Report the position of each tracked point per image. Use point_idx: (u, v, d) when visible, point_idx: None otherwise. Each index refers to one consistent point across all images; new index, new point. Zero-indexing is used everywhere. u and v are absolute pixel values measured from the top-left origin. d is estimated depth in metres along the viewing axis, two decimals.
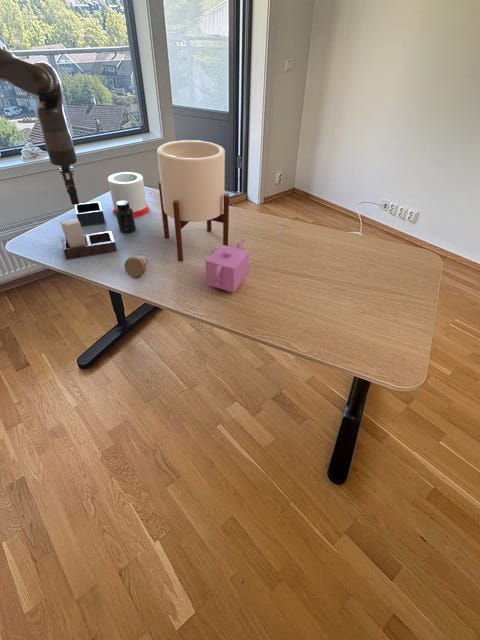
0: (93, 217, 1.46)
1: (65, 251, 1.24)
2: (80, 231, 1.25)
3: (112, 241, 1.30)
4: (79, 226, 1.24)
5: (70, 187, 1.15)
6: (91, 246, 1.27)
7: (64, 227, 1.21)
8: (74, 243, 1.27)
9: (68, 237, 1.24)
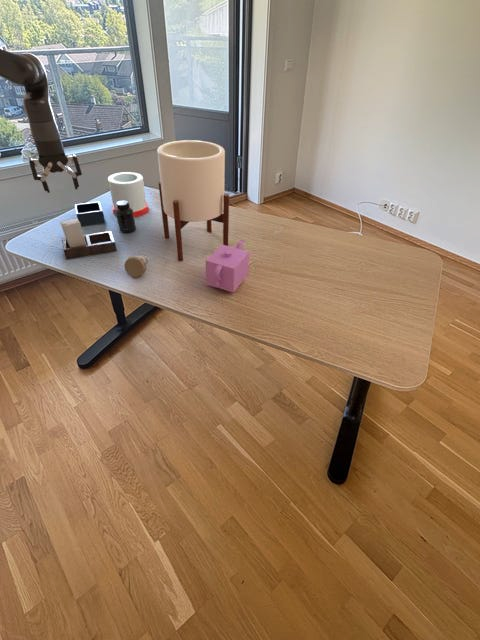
0: (93, 217, 1.46)
1: (65, 251, 1.24)
2: (80, 231, 1.25)
3: (112, 241, 1.30)
4: (79, 226, 1.24)
5: (73, 180, 1.15)
6: (91, 246, 1.27)
7: (64, 227, 1.21)
8: (74, 243, 1.27)
9: (68, 237, 1.24)
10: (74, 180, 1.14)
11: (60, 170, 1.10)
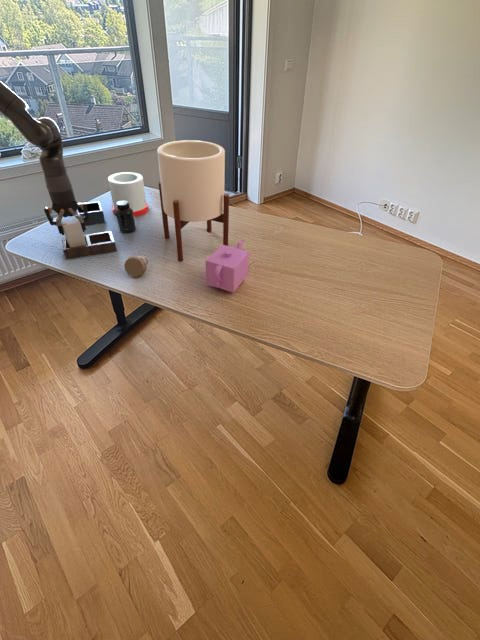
0: (93, 217, 1.46)
1: (65, 251, 1.24)
2: (80, 231, 1.25)
3: (112, 241, 1.30)
4: (79, 226, 1.24)
5: None
6: (91, 246, 1.27)
7: (64, 227, 1.21)
8: (74, 243, 1.27)
9: (68, 237, 1.24)
10: (82, 224, 1.25)
11: (71, 215, 1.21)
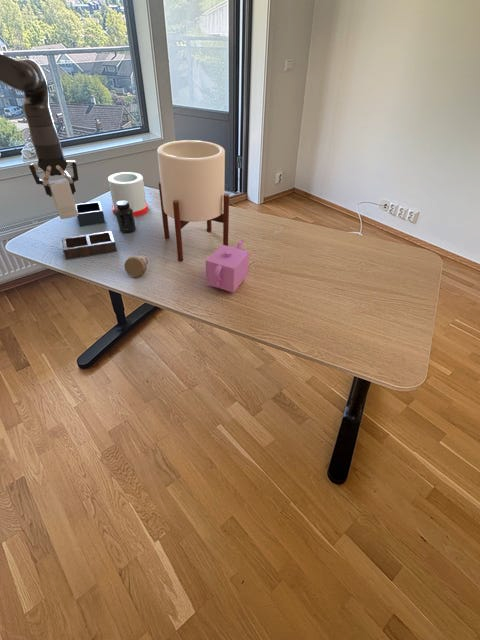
0: (93, 217, 1.46)
1: (65, 251, 1.24)
2: (69, 192, 1.16)
3: (112, 241, 1.30)
4: (68, 187, 1.15)
5: None
6: (91, 246, 1.27)
7: (51, 187, 1.12)
8: (62, 206, 1.17)
9: (56, 198, 1.15)
10: (71, 185, 1.15)
11: (59, 173, 1.12)
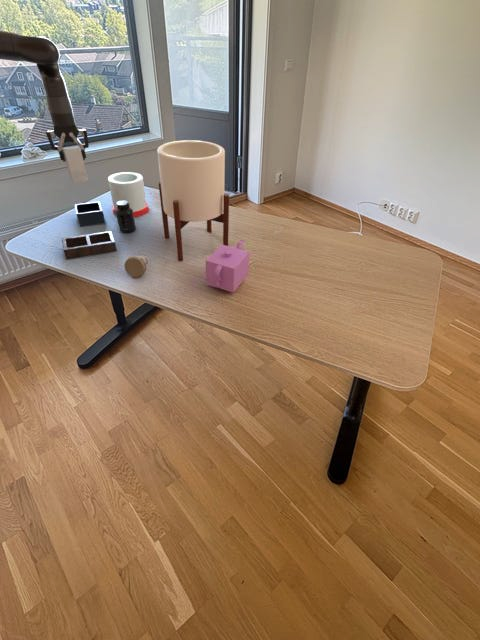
0: (93, 217, 1.46)
1: (65, 251, 1.24)
2: (80, 158, 1.31)
3: (112, 241, 1.30)
4: (79, 153, 1.30)
5: (81, 152, 1.32)
6: (91, 246, 1.27)
7: (65, 152, 1.27)
8: (74, 170, 1.33)
9: (69, 163, 1.30)
10: (82, 151, 1.31)
11: (72, 140, 1.27)
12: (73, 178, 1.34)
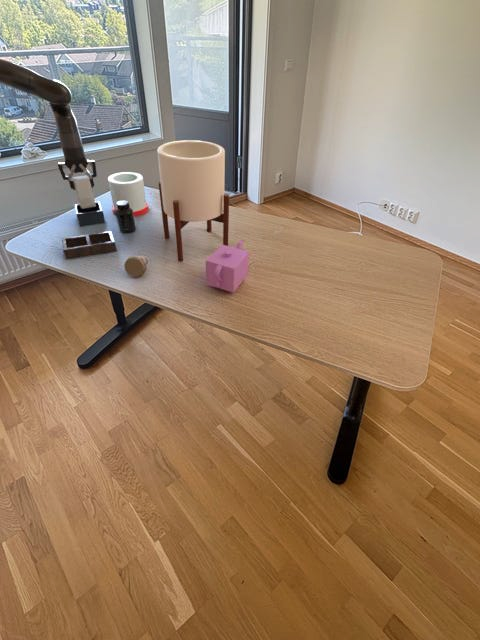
0: (93, 217, 1.46)
1: (65, 251, 1.24)
2: (89, 186, 1.41)
3: (112, 241, 1.30)
4: (88, 182, 1.40)
5: None
6: (91, 246, 1.27)
7: (75, 181, 1.37)
8: (83, 198, 1.42)
9: (78, 191, 1.40)
10: (90, 180, 1.41)
11: (81, 171, 1.37)
12: (82, 204, 1.44)
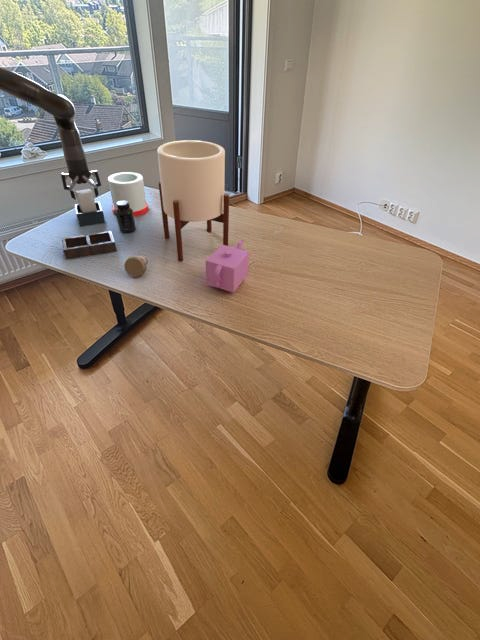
0: (93, 217, 1.46)
1: (65, 251, 1.24)
2: (92, 200, 1.45)
3: (112, 241, 1.30)
4: (91, 195, 1.43)
5: (94, 190, 1.45)
6: (91, 246, 1.27)
7: (79, 195, 1.41)
8: (87, 211, 1.46)
9: (82, 205, 1.44)
10: (95, 190, 1.43)
11: (84, 182, 1.40)
12: None
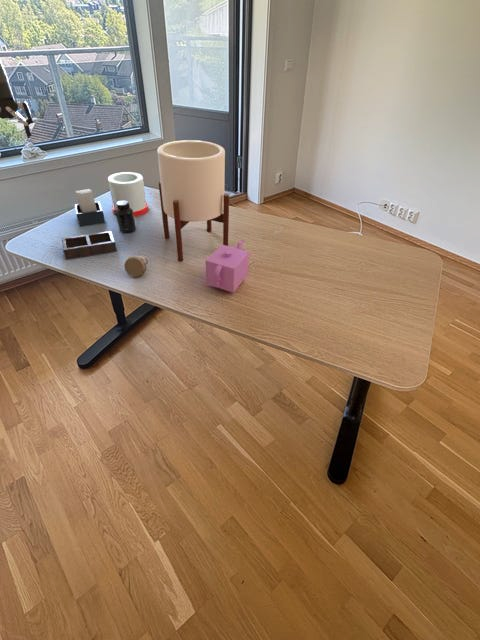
0: (93, 217, 1.46)
1: (65, 251, 1.24)
2: (92, 200, 1.45)
3: (112, 241, 1.30)
4: (91, 195, 1.43)
5: (25, 129, 1.14)
6: (91, 246, 1.27)
7: (79, 195, 1.41)
8: (87, 211, 1.46)
9: (82, 205, 1.44)
10: (26, 128, 1.13)
11: (10, 116, 1.10)
12: None
